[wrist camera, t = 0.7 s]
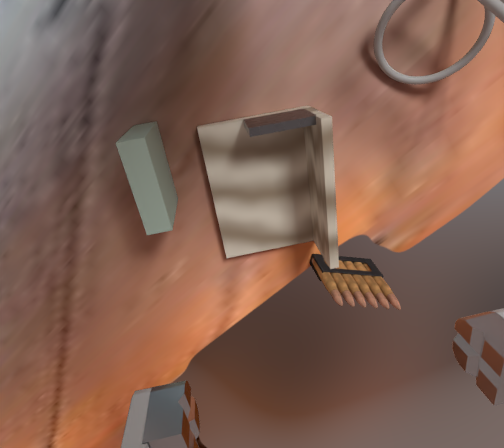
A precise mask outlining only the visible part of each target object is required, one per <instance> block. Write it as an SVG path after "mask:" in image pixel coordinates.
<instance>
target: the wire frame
mask: <svg viewBox="0 0 504 448" xmlns="http://www.w3.org/2000/svg"><path fill="white" fill-rule="evenodd" d="M404 1H405V0H393V1H392V2H391V3H390V4H389V6H388V7H387V8H386V10H385V11H384V13H383V15H382V17H381V19H380V21H379V23H378V26H377V28H376V32H375V37H374V53H375V57H376V60H377V63H378V65H379V66H380V68H381V69H382V71H383V72H384V73H385V74H386V75H388V76H389V77H390V78H392V79H394V80H396V81H398V82H401V83H405V84H427V83H432V82H435V81H438V80H441V79H444V78H446V77H448V76H450V75H452V74H454V73H455V72H457V71H459V70H460V69H461V68H463V67H464V66H465V65H467V64H468V63H469V62H470V61H471V60H472V59H473V58H474V57H475V56H476V55H477V54H478V53H479V51H480V50H481V49H482V47H483V46H484V45H485V43H486V41H487V40H488V38H489V36H490V33H491V31H492V28H493V25H494V21H495V16H496V17H498V18H499V19H500V20H501V21H502V22H503V23H504V0H478V1H479V2H480V3H481V4H482V5H484V8H485V20H484V25H483V28H482V31H481V33H480V36H479V38H478V39H477V41H476V43H475V44H474V45H473V47H472V48H471V49H470V50H469V52H468V53H467V54H466V55H465V56H464V57H463V58H461V59H460V60H459V61H458V62H456V63H455V64H453V65H452V66H450V67H449V68H447V69H445V70H443V71H440V72H438V73H435V74H432V75H427V76H408V75H404V74H401V73H399V72H397V71H395V70H394V69H393V68H392V67H391V66H390V65H389V64H388V63H387V61H386V59H385V57H384V54H383V49H382V40H383V34H384V31H385V28H386V25H387V23H388V21H389V20H390V18H391V16H392V15H393V13H394V12H395V11H396V9H397V8H398V7H399V6H400V5H401V4H402V3H403V2H404Z"/></svg>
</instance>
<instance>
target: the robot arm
mask: <svg viewBox="0 0 504 448" xmlns="http://www.w3.org/2000/svg"><path fill="white" fill-rule="evenodd" d="M455 330H456V331H457V332H458V335H457V336H456V337H455V338H454V339H453V351H454V354H455V358H456V359H457V361H458V363H459V365H460V366H461V367H462V368H463V369H464V371H465V372H467V373H469V374H471V375H473V376H475V377H476V385H477V386H478V387H479V388H480V390H481V391H482V392H483V393H484V394H485V396H486V397H487V398H488V399H489V400H490V401H491V403H492V404H493V405H498V404H503V403H504V308H503V309H499V310H494V311H490V312H484V313H480V314H476V315H472V316H468V317H464V318H459V319H458V320H457V321H456V323H455ZM199 434H200V421H199V411H198V407H197V403H196V400H195V398H193V397H191V387H190V384H189V382H188V381H182V382H177V383H172V384H166V385H161V386H156V387H152V388H147V389H143V390H138V391H135V392H134V394H133V396H132V399H131V404H130V408H129V413H128V417H127V422H126V426H125V431H124V436H123V440H122V445H121V448H199V447H198V444H197V441H196V439H197V437H198V435H199Z"/></svg>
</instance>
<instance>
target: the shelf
mask: <svg viewBox="0 0 504 448" xmlns="http://www.w3.org/2000/svg"><path fill="white" fill-rule="evenodd" d="M197 130H198V134H199V139H200V143H201V147H202V152H203V156H204V161H205V165H206V169H207V174H208V178H209V183H210V187H211V192H212V196H213V200H214V205H215V209H216V214H217V218H218V222H219V227H220V231H221V236H222V240H223V244H224V249H225V253H226V258H230V257H235V256H240V255H245V254H250V253H255V252H260V251H265V250H270V249H275V248H280V247H285V246H290V245H295V244H300V243H305V242H309V241H314V242H315V244H316V246H317V247H318V249H319V251H320V252H321V254H322V256H323V258H324V259H325V261H326V263H327V264H328V266H329V268H330V269H334V268H338V267H339V257H338V236H337V215H336V194H335V172H334V151H333V130H332V116H330V115H327V114H325V113H323V112H321V111H319V110H317V109H315V108H312V107H310V106H303V107H297V108H292V109H286V110H281V111H276V112H270V113H265V114H259V115H254V116H249V117H243V118H238V119H232V120H227V121H222V122H216V123H211V124H205V125H200V126H197Z"/></svg>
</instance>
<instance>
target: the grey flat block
mask: <svg viewBox="0 0 504 448" xmlns="http://www.w3.org/2000/svg"><path fill="white" fill-rule="evenodd" d="M116 146H117V149H118V152H119V155H120V157H121V160H122V163H123V166H124V169H125V172H126V175H127V178H128V181H129V184H130V187H131V190H132V193H133V195H134V198H135V201H136V204H137V207H138V210H139V213H140V216H141V219H142V222H143V225H144V228H145V231H146V233H147V235H151V234H156V233H161V232H166V231H171V230H173V224H174V219H175V213H176V208H177V202H178V197H177V193H176V189H175V186H174V182H173V179H172V175H171V171H170V168H169V164H168V161H167V157H166V154H165V150H164V146H163V143H162V139H161V136H160V132H159V128H158V125H157V121H155V122H150V123H145V124H139V125H134V126H132V127H131V128H130V129H129V130H128V131H127V132H126V133H125V134H124V135H123V136H122V137H121V138H120V139H119V140H118V141H117V142H116Z"/></svg>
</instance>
